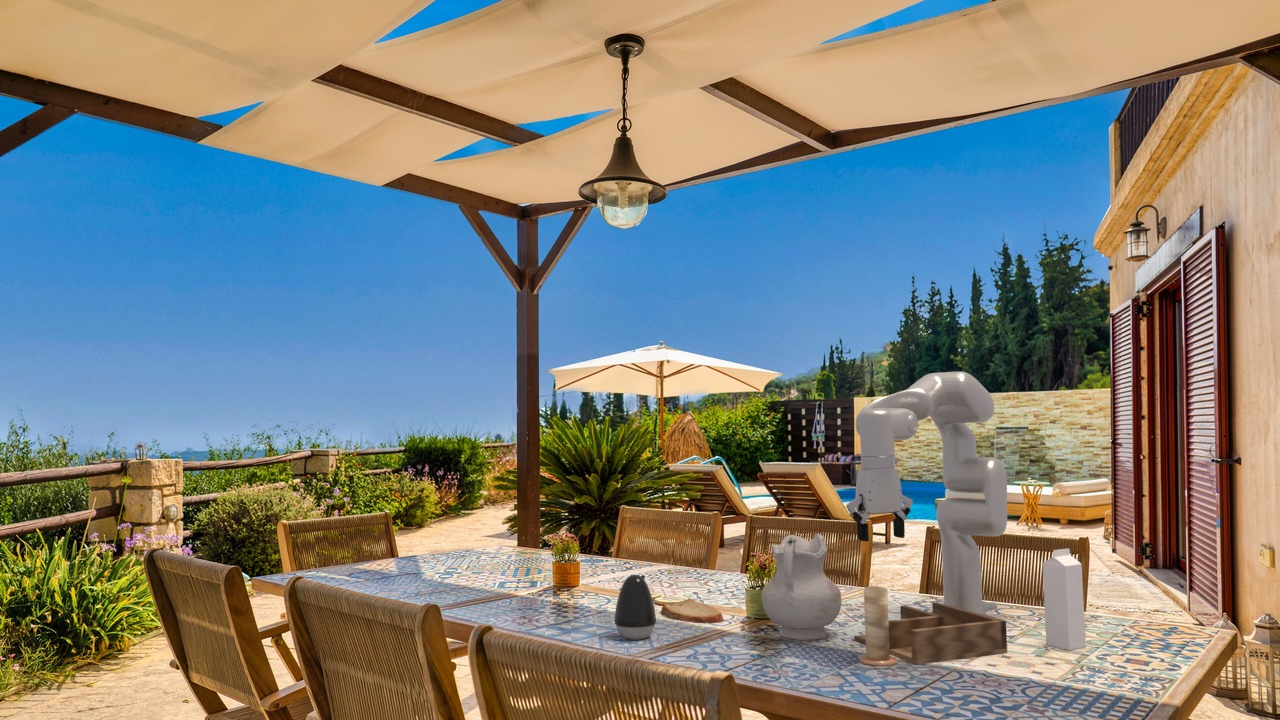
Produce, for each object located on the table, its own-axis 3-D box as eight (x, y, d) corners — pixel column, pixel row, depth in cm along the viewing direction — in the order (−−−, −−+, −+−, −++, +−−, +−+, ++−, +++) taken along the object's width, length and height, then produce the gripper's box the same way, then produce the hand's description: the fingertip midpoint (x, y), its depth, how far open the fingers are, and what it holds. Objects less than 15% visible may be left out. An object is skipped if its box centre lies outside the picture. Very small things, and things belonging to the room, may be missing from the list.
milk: (1086, 647, 203) (1082, 549, 204) (1069, 650, 200) (1065, 551, 201) (1062, 641, 208) (1058, 546, 210) (1045, 645, 205) (1041, 548, 207)
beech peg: (880, 654, 197) (878, 585, 198) (894, 659, 192) (892, 589, 193) (861, 656, 195) (859, 587, 196) (874, 662, 190) (872, 591, 191)
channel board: (938, 630, 221) (937, 602, 221) (1007, 652, 199) (1005, 621, 199) (854, 640, 212) (853, 610, 213) (916, 664, 190) (915, 631, 191)
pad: (882, 655, 198) (882, 652, 198) (904, 663, 191) (904, 660, 191) (851, 658, 196) (851, 655, 196) (872, 667, 188) (872, 664, 188)
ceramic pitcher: (840, 652, 205) (845, 544, 207) (755, 643, 209) (761, 536, 211) (838, 632, 226) (843, 533, 228) (761, 623, 230) (767, 526, 232)
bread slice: (723, 624, 232) (723, 610, 233) (655, 623, 235) (655, 609, 235) (727, 610, 250) (726, 597, 250) (663, 609, 253) (663, 596, 253)
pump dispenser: (663, 634, 221) (662, 572, 222) (645, 644, 212) (644, 579, 213) (626, 631, 225) (625, 570, 226) (607, 640, 216) (607, 576, 217)
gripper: (899, 461, 210) (902, 534, 209) (836, 465, 204) (839, 540, 203) (919, 462, 203) (923, 538, 202) (855, 466, 197) (859, 544, 196)
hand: (881, 538), depth 202 cm, fingers open, 9 cm apart
